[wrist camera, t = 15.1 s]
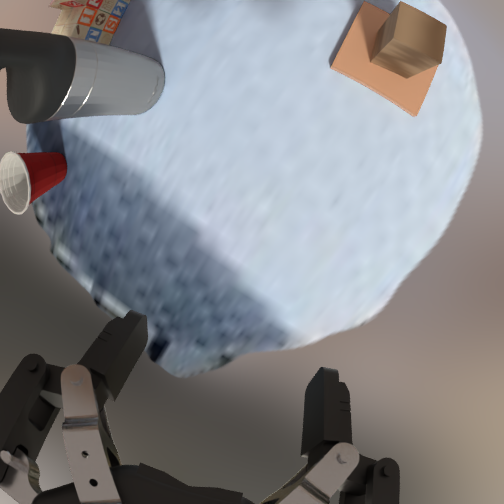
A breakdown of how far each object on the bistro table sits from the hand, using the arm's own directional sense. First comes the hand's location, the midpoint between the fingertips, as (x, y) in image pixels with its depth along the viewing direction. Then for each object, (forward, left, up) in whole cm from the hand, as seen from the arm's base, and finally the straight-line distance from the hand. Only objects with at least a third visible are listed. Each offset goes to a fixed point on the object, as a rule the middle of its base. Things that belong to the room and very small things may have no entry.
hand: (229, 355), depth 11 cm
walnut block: (+4, +24, -25) cm, 36 cm away
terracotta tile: (+4, +25, -27) cm, 36 cm away
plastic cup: (-40, -10, -27) cm, 49 cm away
